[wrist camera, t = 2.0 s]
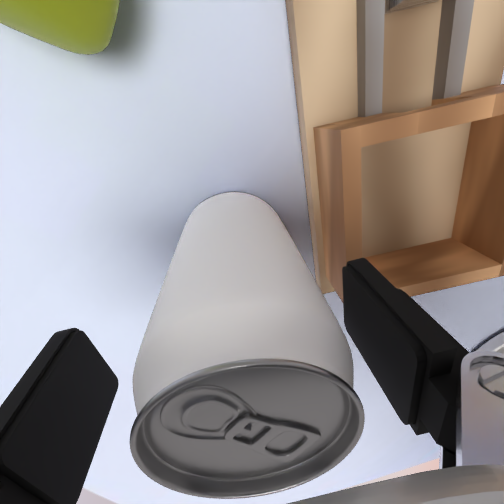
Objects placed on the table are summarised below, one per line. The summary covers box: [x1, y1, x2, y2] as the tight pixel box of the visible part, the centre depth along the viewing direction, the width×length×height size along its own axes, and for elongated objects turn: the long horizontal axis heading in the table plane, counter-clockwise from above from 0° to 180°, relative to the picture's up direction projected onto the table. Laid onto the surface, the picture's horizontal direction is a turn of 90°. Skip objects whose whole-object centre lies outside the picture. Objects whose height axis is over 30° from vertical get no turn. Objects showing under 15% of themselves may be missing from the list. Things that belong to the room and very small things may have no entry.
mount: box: [286, 0, 504, 302], centre depth 11 cm, size 10×24×5 cm, turn 12°
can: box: [130, 192, 365, 499], centre depth 12 cm, size 6×6×12 cm
